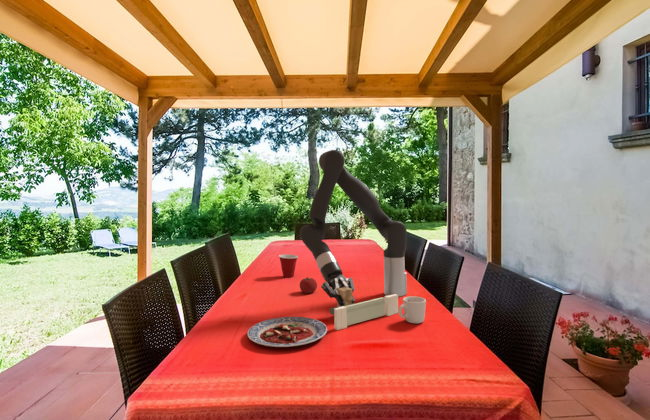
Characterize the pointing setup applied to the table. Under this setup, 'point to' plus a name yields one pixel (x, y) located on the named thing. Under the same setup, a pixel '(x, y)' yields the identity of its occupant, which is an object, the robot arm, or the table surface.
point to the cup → (413, 309)
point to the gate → (365, 310)
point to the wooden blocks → (341, 312)
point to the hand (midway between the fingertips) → (348, 304)
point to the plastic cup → (288, 264)
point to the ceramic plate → (287, 331)
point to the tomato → (308, 285)
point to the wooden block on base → (344, 298)
